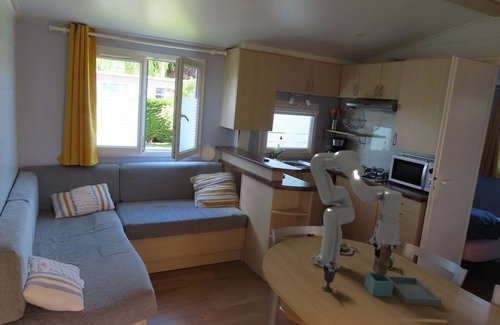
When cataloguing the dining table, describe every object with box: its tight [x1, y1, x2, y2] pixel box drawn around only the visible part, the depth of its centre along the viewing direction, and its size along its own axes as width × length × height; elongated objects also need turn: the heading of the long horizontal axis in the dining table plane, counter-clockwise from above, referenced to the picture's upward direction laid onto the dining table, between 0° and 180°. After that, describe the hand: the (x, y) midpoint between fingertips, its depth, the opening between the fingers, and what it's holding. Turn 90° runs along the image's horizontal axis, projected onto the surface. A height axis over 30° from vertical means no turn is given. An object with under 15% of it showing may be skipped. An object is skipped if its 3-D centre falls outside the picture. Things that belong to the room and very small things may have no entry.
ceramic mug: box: [372, 253, 396, 271], centre depth 187 cm, size 11×8×8 cm
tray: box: [387, 275, 442, 308], centre depth 160 cm, size 16×20×4 cm
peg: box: [372, 245, 391, 275], centre depth 157 cm, size 4×4×12 cm
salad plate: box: [339, 241, 359, 256], centre depth 205 cm, size 19×18×5 cm
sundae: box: [321, 258, 339, 293], centre depth 157 cm, size 7×7×15 cm
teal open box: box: [363, 271, 394, 297], centre depth 158 cm, size 9×9×8 cm
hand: (382, 256), depth 156 cm, fingers closed on peg, 4 cm apart
